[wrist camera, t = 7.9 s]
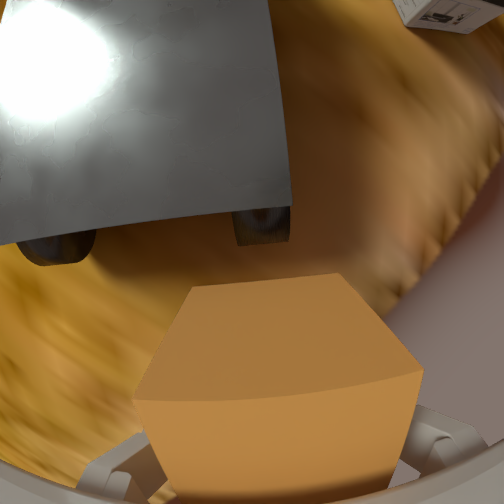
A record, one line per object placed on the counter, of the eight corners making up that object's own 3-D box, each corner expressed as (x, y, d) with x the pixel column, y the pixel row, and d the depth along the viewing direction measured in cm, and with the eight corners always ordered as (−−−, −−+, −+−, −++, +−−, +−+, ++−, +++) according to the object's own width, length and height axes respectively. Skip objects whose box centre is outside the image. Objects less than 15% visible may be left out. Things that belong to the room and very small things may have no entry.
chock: (338, 272, 10) (424, 369, 4) (332, 435, 12) (361, 540, 6) (192, 286, 10) (131, 399, 4) (224, 445, 12) (215, 554, 6)
